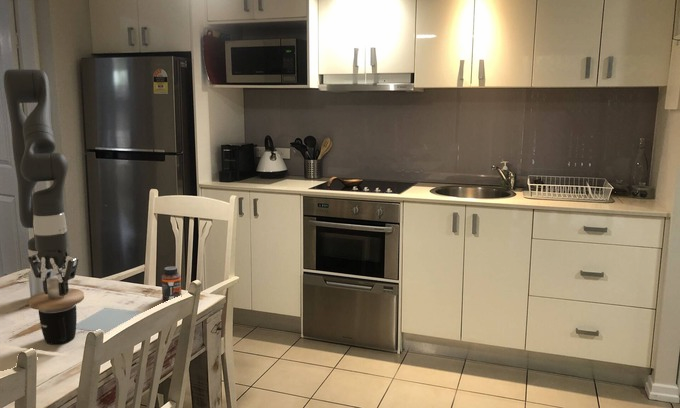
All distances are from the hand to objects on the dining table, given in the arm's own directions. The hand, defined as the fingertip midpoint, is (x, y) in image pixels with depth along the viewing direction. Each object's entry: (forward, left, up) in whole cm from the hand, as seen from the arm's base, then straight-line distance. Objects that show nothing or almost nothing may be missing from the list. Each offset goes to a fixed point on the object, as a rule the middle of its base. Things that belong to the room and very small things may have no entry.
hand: (56, 293), depth 148 cm
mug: (0, 0, -14) cm, 14 cm away
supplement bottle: (+12, +36, -14) cm, 41 cm away
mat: (+4, +16, -14) cm, 22 cm away
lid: (0, 0, -2) cm, 2 cm away
